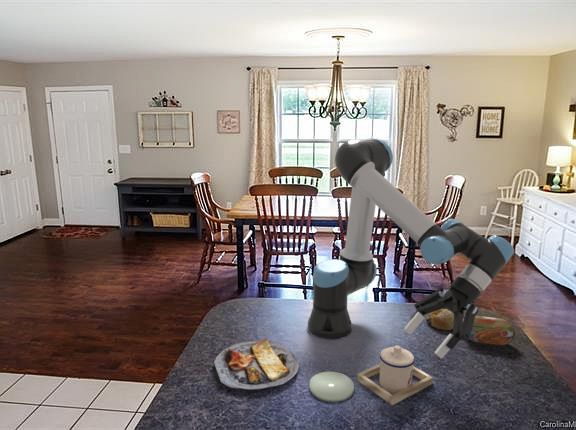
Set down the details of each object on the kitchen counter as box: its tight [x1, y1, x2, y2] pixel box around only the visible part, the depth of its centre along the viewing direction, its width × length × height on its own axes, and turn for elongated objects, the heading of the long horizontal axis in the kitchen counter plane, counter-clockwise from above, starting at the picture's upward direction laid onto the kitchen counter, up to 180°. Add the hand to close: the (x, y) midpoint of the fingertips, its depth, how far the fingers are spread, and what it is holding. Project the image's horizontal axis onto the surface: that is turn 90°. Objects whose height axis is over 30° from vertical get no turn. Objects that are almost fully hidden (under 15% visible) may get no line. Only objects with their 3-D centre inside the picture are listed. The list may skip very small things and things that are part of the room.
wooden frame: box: [356, 363, 434, 406], centre depth 120 cm, size 13×16×2 cm
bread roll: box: [425, 309, 454, 331], centre depth 153 cm, size 10×10×8 cm
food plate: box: [213, 338, 300, 390], centre depth 127 cm, size 25×23×4 cm
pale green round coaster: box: [309, 371, 355, 403], centre depth 118 cm, size 12×12×1 cm
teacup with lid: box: [378, 345, 415, 395], centre depth 119 cm, size 12×9×12 cm
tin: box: [469, 315, 516, 346], centre depth 141 cm, size 15×3×8 cm, turn 73°
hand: (421, 343), depth 119 cm, fingers open, 13 cm apart
